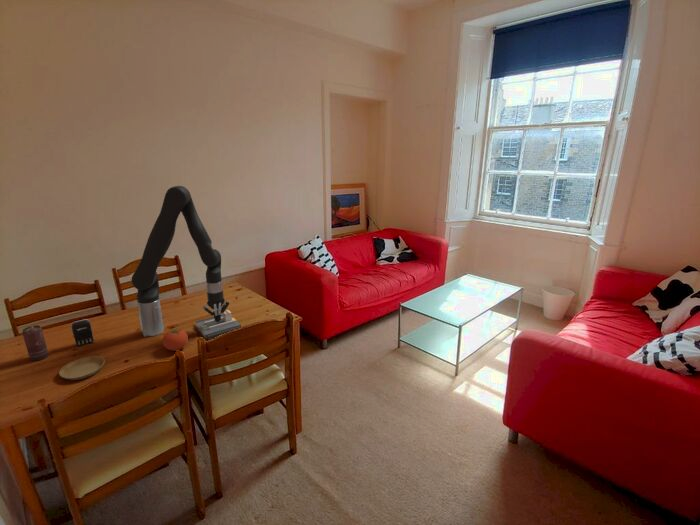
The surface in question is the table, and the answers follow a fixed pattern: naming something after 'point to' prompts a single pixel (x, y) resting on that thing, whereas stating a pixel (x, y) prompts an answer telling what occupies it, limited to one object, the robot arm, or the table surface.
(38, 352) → the can
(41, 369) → the table surface
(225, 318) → the breaker lever
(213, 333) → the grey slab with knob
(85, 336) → the battery charger
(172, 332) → the tomato
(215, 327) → the panel
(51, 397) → the table surface
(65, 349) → the table surface
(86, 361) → the plant saucer
